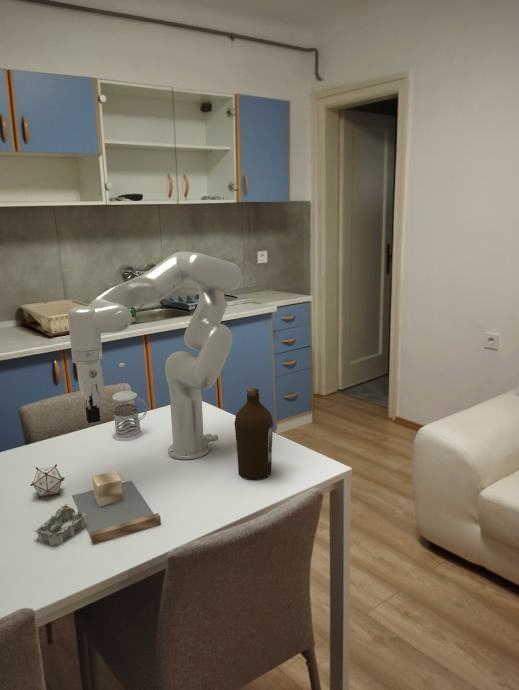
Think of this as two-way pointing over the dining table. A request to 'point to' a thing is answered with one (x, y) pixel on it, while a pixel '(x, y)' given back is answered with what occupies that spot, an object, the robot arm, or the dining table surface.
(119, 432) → the french press
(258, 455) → the olive oil
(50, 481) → the game die
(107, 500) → the block
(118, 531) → the rail
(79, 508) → the grey rectangular board
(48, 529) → the carved stone fragment
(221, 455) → the dining table surface
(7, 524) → the dining table surface
